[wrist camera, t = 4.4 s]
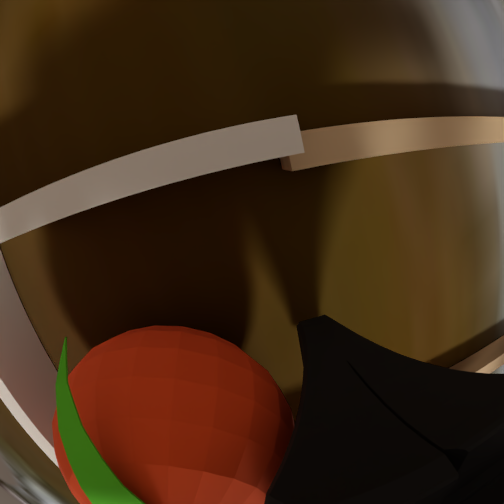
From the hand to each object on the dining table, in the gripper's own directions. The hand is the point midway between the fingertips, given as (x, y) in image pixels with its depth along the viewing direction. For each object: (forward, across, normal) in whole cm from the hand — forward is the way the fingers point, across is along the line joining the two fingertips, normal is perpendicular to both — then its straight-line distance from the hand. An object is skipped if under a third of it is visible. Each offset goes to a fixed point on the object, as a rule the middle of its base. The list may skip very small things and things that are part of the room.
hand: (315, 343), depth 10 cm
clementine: (+1, +5, 0) cm, 5 cm away
